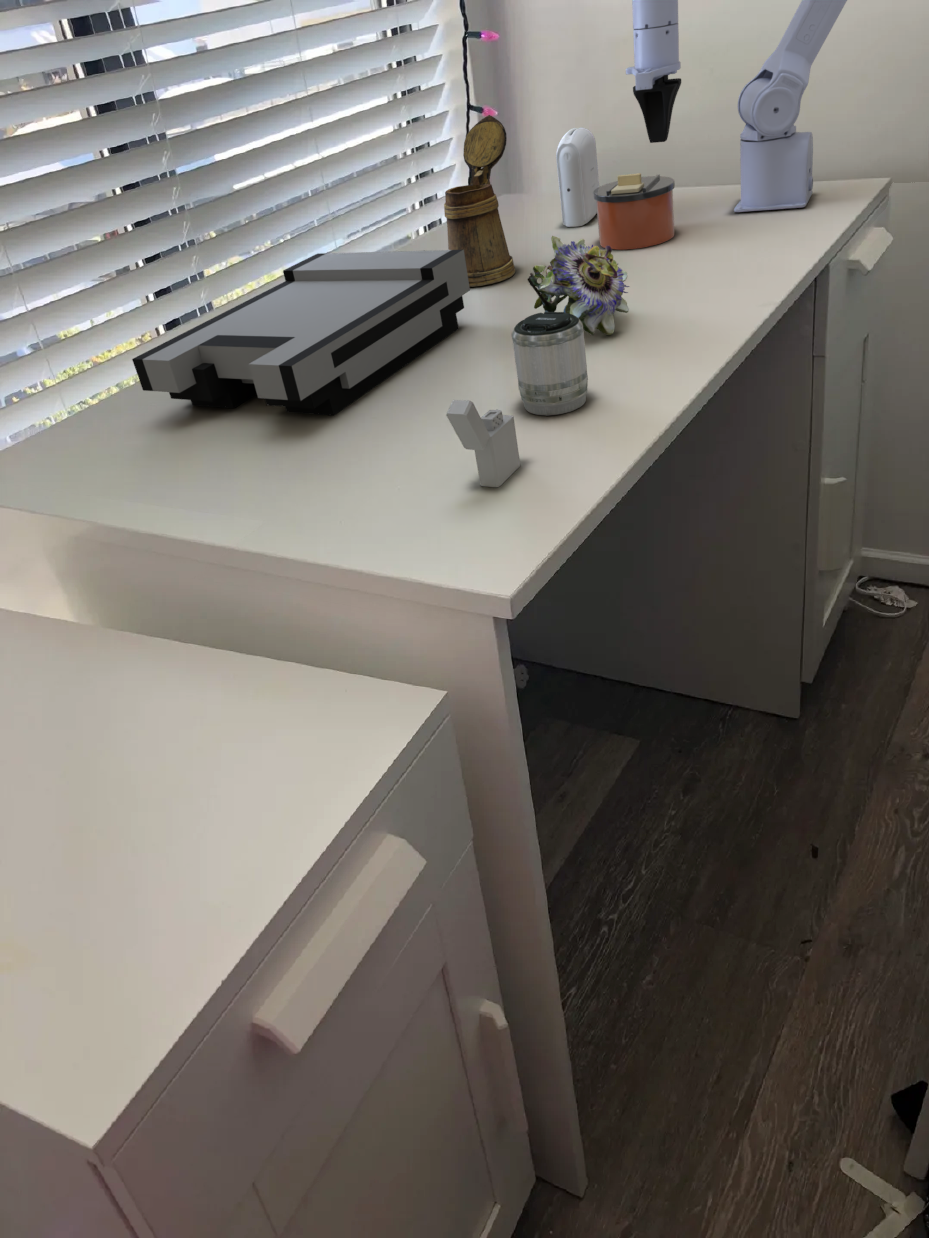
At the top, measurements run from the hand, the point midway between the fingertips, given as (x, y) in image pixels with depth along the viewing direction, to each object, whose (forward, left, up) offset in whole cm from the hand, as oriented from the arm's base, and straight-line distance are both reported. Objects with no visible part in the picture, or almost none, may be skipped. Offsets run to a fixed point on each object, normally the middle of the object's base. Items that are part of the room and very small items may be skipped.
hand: (658, 141), depth 136 cm
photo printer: (+13, -5, -11) cm, 18 cm away
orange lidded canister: (+1, +9, -10) cm, 14 cm away
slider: (+1, +12, -4) cm, 12 cm away
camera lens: (-6, +65, -11) cm, 66 cm away
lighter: (-6, +81, -11) cm, 82 cm away
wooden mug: (+18, +21, -11) cm, 30 cm away
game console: (+24, +56, -11) cm, 62 cm away
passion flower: (-2, +45, -11) cm, 46 cm away
